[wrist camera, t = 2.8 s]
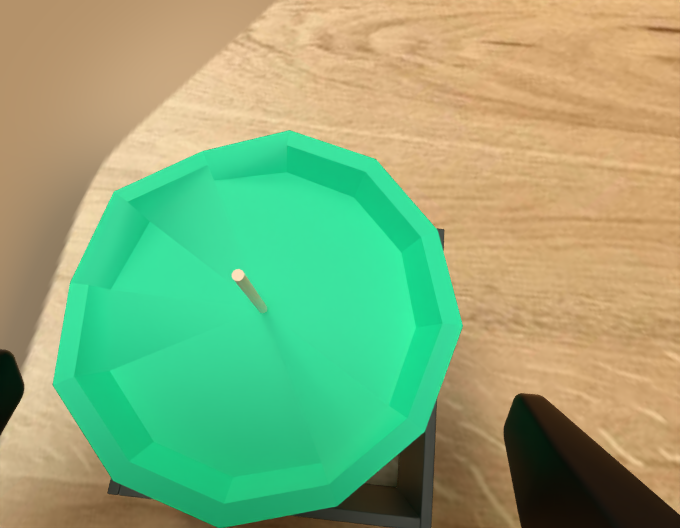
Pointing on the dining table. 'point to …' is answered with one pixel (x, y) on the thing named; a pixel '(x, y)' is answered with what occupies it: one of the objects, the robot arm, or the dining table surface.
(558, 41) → the dining table surface
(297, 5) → the dining table surface
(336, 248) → the candle
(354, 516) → the dark grey square tray
